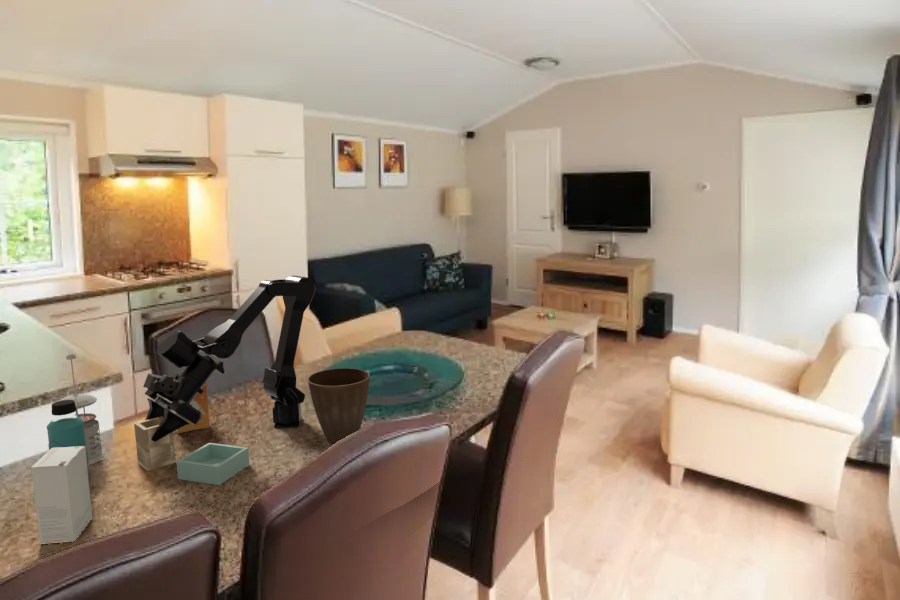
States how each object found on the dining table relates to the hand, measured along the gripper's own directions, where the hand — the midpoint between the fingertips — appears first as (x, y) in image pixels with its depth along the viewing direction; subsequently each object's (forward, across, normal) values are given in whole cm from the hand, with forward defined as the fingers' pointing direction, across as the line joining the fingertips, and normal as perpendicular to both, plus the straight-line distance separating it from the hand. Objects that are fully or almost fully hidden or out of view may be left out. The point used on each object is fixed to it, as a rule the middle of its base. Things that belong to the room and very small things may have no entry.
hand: (147, 436), depth 136 cm
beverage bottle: (+16, +4, -7) cm, 18 cm away
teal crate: (-1, +14, +11) cm, 18 cm away
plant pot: (-22, +19, +32) cm, 44 cm away
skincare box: (+20, +19, -10) cm, 29 cm away
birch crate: (+4, 0, +6) cm, 7 cm away
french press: (+11, -16, -2) cm, 20 cm away
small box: (-7, -16, +16) cm, 24 cm away
